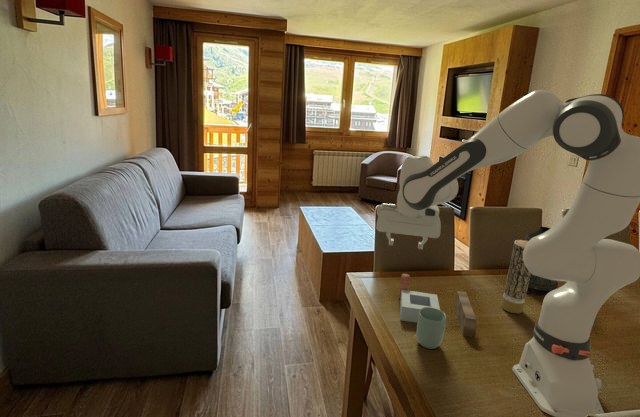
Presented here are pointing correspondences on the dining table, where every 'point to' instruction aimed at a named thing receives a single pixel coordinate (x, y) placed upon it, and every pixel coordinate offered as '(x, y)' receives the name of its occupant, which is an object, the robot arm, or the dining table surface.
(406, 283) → the sausage
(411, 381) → the dining table surface
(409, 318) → the holed block
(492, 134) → the robot arm
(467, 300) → the walnut wall
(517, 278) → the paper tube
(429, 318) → the cup
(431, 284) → the dining table surface
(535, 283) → the beer stein
